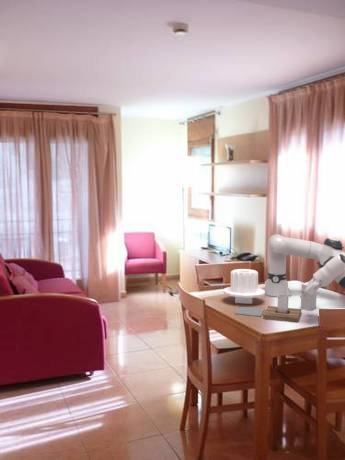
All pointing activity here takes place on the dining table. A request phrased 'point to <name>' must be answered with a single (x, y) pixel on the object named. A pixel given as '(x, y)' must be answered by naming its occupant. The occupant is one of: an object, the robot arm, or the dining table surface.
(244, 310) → the slate mat
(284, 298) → the steel plug
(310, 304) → the skincare box
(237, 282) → the ribbed cylinder on disc
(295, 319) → the walnut socket block
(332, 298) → the dining table surface
